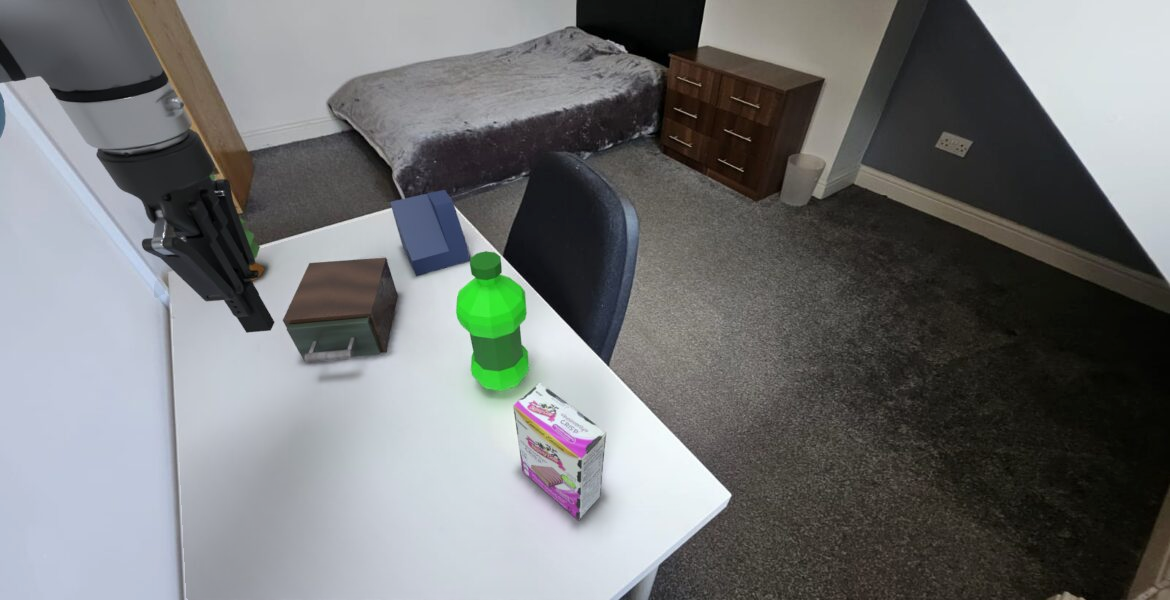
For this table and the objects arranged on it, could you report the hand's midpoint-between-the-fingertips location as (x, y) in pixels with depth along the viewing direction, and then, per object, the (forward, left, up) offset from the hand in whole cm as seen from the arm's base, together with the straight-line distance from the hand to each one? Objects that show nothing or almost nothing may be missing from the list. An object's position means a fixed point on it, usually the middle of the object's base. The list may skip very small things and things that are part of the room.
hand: (260, 327), depth 57 cm
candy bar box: (+28, -25, -23) cm, 44 cm away
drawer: (+7, +18, -21) cm, 29 cm away
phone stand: (+28, +38, -23) cm, 52 cm away
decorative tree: (-10, +49, -23) cm, 55 cm away
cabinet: (+8, +22, -22) cm, 32 cm away
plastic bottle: (+28, -3, -23) cm, 36 cm away
